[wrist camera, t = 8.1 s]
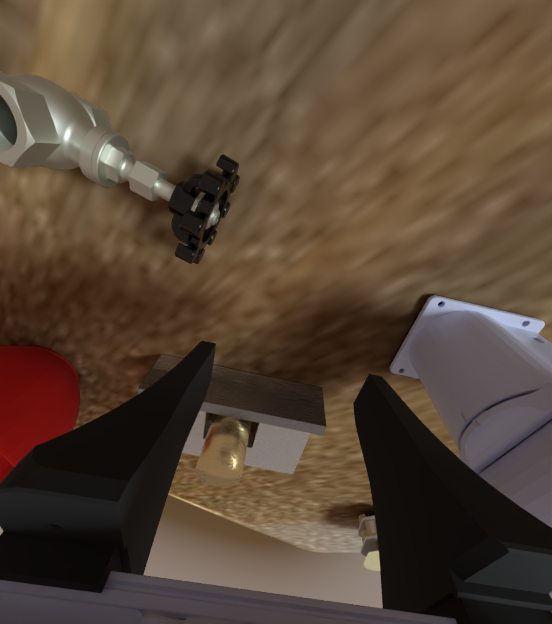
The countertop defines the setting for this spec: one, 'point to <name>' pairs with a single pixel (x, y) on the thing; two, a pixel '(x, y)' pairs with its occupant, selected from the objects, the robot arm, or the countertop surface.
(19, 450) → the ceramic cup
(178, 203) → the valve
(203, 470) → the brass cylinder
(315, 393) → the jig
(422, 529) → the robot arm
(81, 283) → the countertop surface
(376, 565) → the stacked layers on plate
